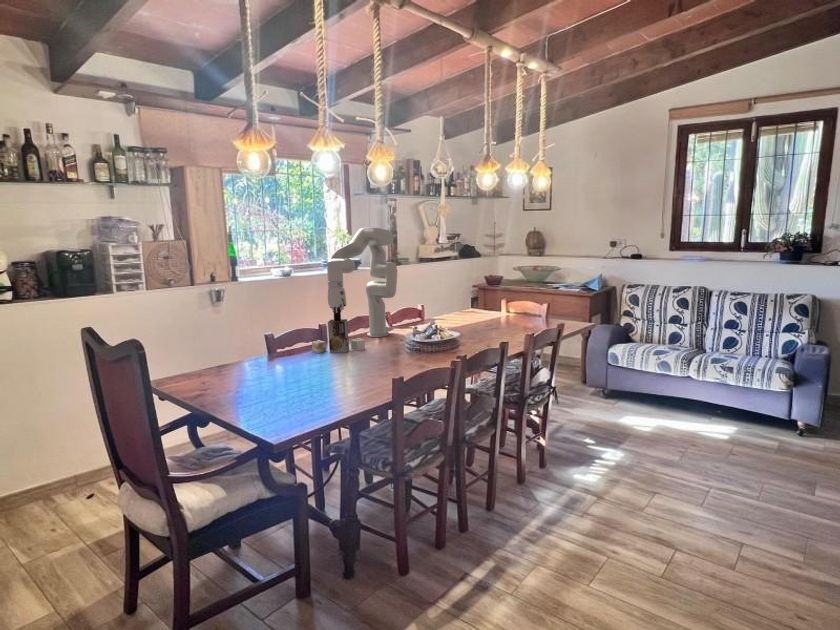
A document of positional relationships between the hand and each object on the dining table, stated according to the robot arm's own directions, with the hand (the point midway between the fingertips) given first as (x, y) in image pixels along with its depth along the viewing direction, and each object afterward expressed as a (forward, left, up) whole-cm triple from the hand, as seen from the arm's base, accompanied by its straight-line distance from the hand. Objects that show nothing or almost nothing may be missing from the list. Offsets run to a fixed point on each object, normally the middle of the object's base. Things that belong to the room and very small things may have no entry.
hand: (337, 320), depth 272 cm
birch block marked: (+7, -8, -16) cm, 19 cm away
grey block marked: (-9, +4, -16) cm, 19 cm away
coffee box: (0, 0, -16) cm, 16 cm away
